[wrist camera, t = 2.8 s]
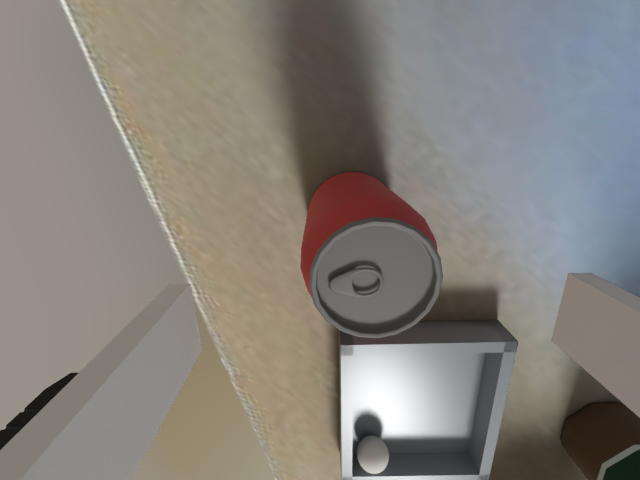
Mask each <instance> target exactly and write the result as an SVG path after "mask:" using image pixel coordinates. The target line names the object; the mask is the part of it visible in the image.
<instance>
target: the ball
mask: <svg viewBox="0 0 640 480" xmlns="http://www.w3.org/2000/svg"><path fill="white" fill-rule="evenodd" d="M357 458H358V461H359V463H360V465H361V467H362V468H363V469H364V470H365V471H367V472H369V473H371V474H377V473H380V472H382V471H383V470H384V469H385V468H386V466H387V464H388V461H389V452H388V449H387V446H386V444H385V443H384V442H383V440H381V439H380V438H379V437H377V436H373V435H370V436H366V437H364V438H363V439H362V440H361V441H360V443H359V445H358V448H357Z"/></svg>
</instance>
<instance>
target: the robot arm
mask: <svg viewBox="0 0 640 480" xmlns="http://www.w3.org/2000/svg"><path fill="white" fill-rule="evenodd" d="M551 341H553V342H554V343H555V344H556V345H557V346H558V347H559V348H561V349H562V350H563V351H564V352H565V353H566V354H567V355H569V356H570V357H571V358H572V359H573V360H574V361H575V362H577V363H578V364H579V365H580V366H581V367H582V368H583V369H585V370H586V371H587V372H588V373H589V374H590V375H591V376H593V377H594V378H595V379H596V380H597V381H598V382H599V383H601V384H602V385H603V386H604V387H605V388H606V389H607V390H609V391H610V392H611V393H612V394H613V395H614V396H615V397H616V398H618V399H619V400H620V401H621V402H622V403H623V404H624V405H626V406H627V407H628V408H629V409H630V410H631V411H632V412H634V413H635V414H636V415H637V416H638V417H639V418H640V297H638V296H636V295H634V294H632V293H630V292H628V291H626V290H624V289H622V288H620V287H618V286H616V285H614V284H612V283H610V282H608V281H606V280H604V279H602V278H600V277H598V276H596V275H594V274H592V273H568V276H567V280H566V284H565V288H564V292H563V296H562V300H561V304H560V308H559V312H558V316H557V320H556V324H555V328H554V332H553V336H552V340H551ZM201 351H202V346H201V340H200V335H199V329H198V324H197V318H196V312H195V307H194V301H193V296H192V290H191V285H190V284H170V285H168V286H166V287H165V289H163V290H162V291H161V292H160V293H159V294H158V295H157V296H156V297H155V298H154V299H153V300H152V301H151V302H150V303H149V304H148V305H147V306H146V307H145V308H144V309H143V310H142V311H141V312H140V313H139V314H138V315H137V316H136V317H135V318H134V319H133V320H132V321H131V322H130V323H129V324H128V325H127V326H126V327H125V328H124V329H123V330H122V331H121V332H120V333H119V334H118V335H117V336H116V337H115V338H114V339H113V340H112V341H111V342H110V343H109V344H108V345H107V346H106V347H105V348H103V349H102V351H101V352H100V353H98V354H97V356H95V357H94V358H93V359H92V360H91V361H90V362H89V363H88V364H87V365H86V366H85V367H84V368H83V369H82V370H81V371H80V372H79V373H70V374H68V375H67V376H65V377H64V378H62V379H61V380H59V381H58V382H56V383H54V384H53V385H51V386H50V387H48V388H46V389H45V390H44V391H43V392H42V393H41V394H40V395H39V396H38V397H37V398H35V400H33V401H32V402H31V403H30V404H29V405H28V406H27V407H26V408H25V410H24V412H21V413H19V414H18V415H17V416H16V417H15V418H14V419H13V420H12V421H11V422H10V423H8V424H7V425H6V429H5V430H1V431H0V480H131V479H132V478H133V476H134V474H135V472H136V470H137V469H138V466H139V465H140V463H141V461H142V459H143V458H144V456H145V454H146V452H147V450H148V448H149V446H150V445H151V443H152V441H153V439H154V437H155V435H156V434H157V432H158V430H159V428H160V426H161V424H162V423H163V421H164V419H165V417H166V415H167V413H168V412H169V410H170V408H171V406H172V404H173V403H174V401H175V399H176V397H177V395H178V393H179V391H180V389H181V388H182V386H183V384H184V382H185V381H186V379H187V377H188V375H189V373H190V371H191V370H192V368H193V366H194V364H195V362H196V360H197V358H198V357H199V355H200V353H201Z"/></svg>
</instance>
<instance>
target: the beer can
mask: <svg viewBox="0 0 640 480" xmlns="http://www.w3.org/2000/svg"><path fill="white" fill-rule="evenodd" d="M301 271H302V274H303V277H304V281H305V284H306V287H307V290H308V292H309V293H310V295H311V296H312V298H313V302H314V305H315V307H316V308H317V309H318V311H319V312H320V313H321V315H322V316H323V318H324V319H325V320H326V321H327V322H329V323H330V324H332V325H333V326H334V327H336V328H337V329H338V330H340V331H342V332H345V333H348V334H351V335H354V336H357V337H366V338H381V337H386V336H390V335H395V334H398V333H400V332H402V331H404V330H406V329H408V328H410V327H412V326H414V325H416V324H417V323H418V322H419V321H420V320H421V319H422V318H423V317H424V316H425V315H426V314H427V313H429V311H430V310H431V308H432V306H433V305H434V303H435V301H436V299H437V298H438V296H439V293H440V288H441V284H442V279H443V273H442V266H441V259H440V256H439V254H438V252H437V245H436V241H435V238H434V235H433V234H432V232H431V230H430V228H429V226H428V224H427V222H426V221H425V219H424V218H423V217H422V216H421V215H420V214H419V213H418V212H417V211H415V210H414V209H413V208H412V207H411V206H410V205H409V204H407V203H406V202H405V201H404V200H402V199H401V198H400V197H399V196H397V195H396V194H395V193H394V192H392V191H391V190H390V189H389V188H387V187H386V186H385V185H384V184H382V183H381V182H380V181H379V180H377V179H376V178H375V177H372V176H370V175H367V174H365V173H362V172H345V173H341V174H337V175H334V176H332V177H331V178H329V179H328V180H326V181H325V182H323V183H322V184H321V185H320V187H319V188H318V189H317V190H316V191H315V193H314V194H313V197H312V199H311V202H310V205H309V208H308V214H307V219H306V225H305V231H304V236H303V242H302V248H301Z"/></svg>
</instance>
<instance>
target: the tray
mask: <svg viewBox="0 0 640 480" xmlns="http://www.w3.org/2000/svg"><path fill="white" fill-rule="evenodd" d="M517 346H518V341H517V340H516V339H515V338H514V337H513V336H512V335H511V333H510V332H509V331H508V330H507V329H506V328H505V327H504V326H503V325H502V324H501V323H500V322H499V321H498V320H477V321H431V322H418V323H417V324H416V325H414V326H412V327H410V328H408V329H406V330H404V331H402V332H400V333H398V334H395V335H390V336H386V337H381V338H366V337H357V336H354V335H351V334H348V333H345V332H342V331H340V330H339V398H340V461H341V478H342V480H489V476H490V472H491V467H492V462H493V458H494V453H495V448H496V444H497V439H498V434H499V430H500V425H501V420H502V416H503V411H504V406H505V402H506V397H507V392H508V388H509V383H510V378H511V374H512V369H513V364H514V360H515V355H516V350H517ZM370 435H373V436H377V437H379V438H380V439H381V440H383V442H384V443H385V444H386V446H387V449H388V452H389V461H388V464H387V466H386V468H385V469H384V470H383V471H382V472H380V473H377V474H371V473H369V472H367V471H365V470H364V469H363V468H362V467H361V465H360V463H359V461H358V458H357V448H358V445H359V443H360V441H361V440H362V439H363V438H364V437H366V436H370Z"/></svg>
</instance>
